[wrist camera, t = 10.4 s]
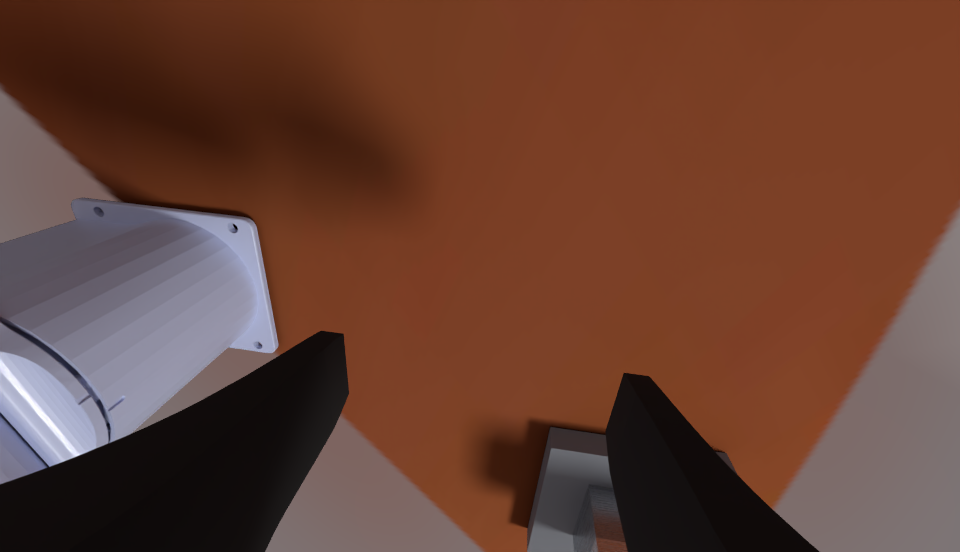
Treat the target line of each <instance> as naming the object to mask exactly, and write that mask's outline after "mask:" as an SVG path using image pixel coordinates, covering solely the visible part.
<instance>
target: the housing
mask: <svg viewBox="0 0 960 552" xmlns="http://www.w3.org/2000/svg"><path fill="white" fill-rule="evenodd" d="M573 545H574V552H628V551H627V547H626V543H625V538H624V534H623V530H622V525H621V521H620V516H619V512H618V508H617V503H616V499H615V494H614V490H613V488H610V487H604V486H597V485H591V484H589V485H588V488H587V491H586V494H585V498H584V501H583V504H582V507H581V510H580V514H579V517H578V520H577V523H576V526H575V530H574V533H573Z"/></svg>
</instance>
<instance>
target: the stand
mask: <svg viewBox="0 0 960 552" xmlns="http://www.w3.org/2000/svg"><path fill="white" fill-rule="evenodd" d="M716 453H717V454H718V455H719V456H720V457H721V459H722V460H723V461H724V462H725V463H726V464H727V465H728V466H729V467H730V468H731V469H732V470H733V471H734V472H735V473H736V471H735V469H734V467H733V465H732V463H731V461H730V459H729V457H728V455H727V453H721V452H716ZM736 474H737V473H736ZM589 484H591V485H597V486H604V487H610V488H613V485H612V481H611V476H610V471H609V462H608V454H607V443H606V435H601V434H595V433H588V432H581V431H575V430H568V429H561V428H555V427H550V430H549V435H548V439H547V444H546V448H545V453H544V457H543V462H542V466H541V471H540V475H539V480H538V484H537V489H536V493H535V498H534V502H533V507H532V511H531V516H530V520H529V525H528V531H527V552H574V545H573V533H574V530H575V526H576V523H577V520H578V517H579V514H580V510H581V507H582V504H583V501H584V498H585V494H586V491H587V488H588V485H589Z"/></svg>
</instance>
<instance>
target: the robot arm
mask: <svg viewBox="0 0 960 552" xmlns="http://www.w3.org/2000/svg"><path fill="white" fill-rule="evenodd" d="M71 207H72V210H73V213H74V215H75V218H76V220H74V221H70V222H68V223H64V224H61V225H58V226H55V227H51V228H48V229H46V230H42V231H39V232H36V233H33V234H29V235H26V236H23V237H20V238H16V239H13V240H10V241H7V242H4V243H0V552H265V550H266V548H267V546H268V544H269V542H270V540H271V537H272V536H273V534H274V532H275V530H276V528H277V526H278V524H279V522H280V520H281V519H282V517H283V515H284V513H285V511H286V510H287V508H288V506H289V505H290V503H291V501H292V499H293V498H294V496H295V494H296V492H297V491H298V489H299V488H300V486H301V484H302V483H303V481H304V479H305V477H306V476H307V474H308V472H309V470H310V469H311V467H312V466H313V464H314V462H315V461H316V459H317V457H318V455H319V453H320V452H321V450H322V448H323V447H324V445H325V443H326V441H327V439H328V438H329V436H330V435H331V433H332V431H333V429H334V427H335V425H336V423H337V420H338V418H339V416H340V414H341V411H342V409H343V407H344V404H345V402H346V399H347V397H348V395H349V388H348V377H347V367H346V356H345V345H344V334H341V333H334V332H326V331H320V332H318V333H316V334H314V335H313V336H311V337H309V338H307V339H306V340H304V341H302V342H301V343H299V344H298V345H296V346H294V347H293V348H291V349H289V350H288V351H286V352H285V353H283V354H281V355H280V356H278V357H276V358H275V359H273V360H271V361H270V362H268V363H266V364H265V365H263V366H262V367H260V368H258V369H256V370H255V371H253V372H251V373H250V374H248V375H246V376H245V377H243V378H241V379H239V380H238V381H236V382H234V383H232V384H230V385H228V386H227V387H225V388H223V389H221V390H219V391H218V392H216V393H214V394H212V395H211V396H208V397H207V398H205V399H203V400H201V401H199V402H197V403H196V404H194V405H192V406H190V407H188V408H186V409H184V410H182V411H180V412H178V413H176V414H174V415H171V416H169V417H167V418H165V419H163V420H161V421H159V422H156V423H154V424H152V425H150V426H148V427H146V428H144V429H141V430H139V431H137V432H135V433H132V432H133V431H134V430H135V429H137V427H139V426H140V425H141V424H142V423H143V422H144V421H146V420H147V419H148V418H149V417H150V416H151V415H152V414H153V413H155V412H156V411H157V410H158V409H159V408H160V407H161V406H162V405H164V404H165V403H166V402H167V401H168V400H169V399H170V398H171V397H173V395H175V394H176V393H177V392H178V391H179V390H180V389H181V388H183V387H184V386H185V385H186V384H187V383H188V382H189V381H190V380H191V379H193V378H194V377H195V376H196V375H197V374H198V373H199V372H201V371H202V370H203V369H204V368H205V367H206V366H207V365H208V364H210V363H211V362H212V361H213V360H214V359H215V358H216V357H217V356H219V354H221V353H222V352H223V351H224V350H225V349H226V348H228V347H230V348H237V349H244V350H251V351H257V352H265V353H272V352H274V351H275V350H276V349H277V348H278V339H277V334H276V329H275V323H274V318H273V312H272V307H271V302H270V296H269V291H268V286H267V280H266V275H265V269H264V264H263V259H262V253H261V248H260V243H259V237H258V232H257V227H256V225H255V223H254V222H253V221H252V220H251V219H249V218H246V217H240V216H231V215H223V214H215V213H206V212H198V211H190V210H181V209H173V208H165V207H156V206H148V205H140V204H131V203H123V202H115V201H106V200H98V199H89V198H79V199H75V200H73V201H72V203H71ZM102 210H103V211H102ZM233 224H235V225H236V226H237V228H238V230H236V229H235V228H234V226H233ZM259 342H260V343H261V344H260V343H259ZM131 433H132V434H131ZM606 443H607V454H608V462H609V471H610V476H611V481H612V485H613V490H614V494H615V499H616V503H617V508H618V512H619V516H620V521H621V525H622V530H623V534H624V538H625V543H626V547H627V551H628V552H819V551H818V550H817V549H816V548H814V547H813V546H812V545H811V544H810V543H809V542H808V541H807V540H805V539H804V538H803V537H802V536H801V535H800V534H799V533H798V532H797V531H795V530H794V529H793V528H792V527H791V526H790V525H789V524H788V523H786V522H785V520H783V519H782V518H781V517H780V516H779V515H778V514H777V513H776V512H775V511H774V510H772V509H771V508H770V507H769V506H768V505H767V504H766V503H765V502H764V501H763V500H762V499H761V498H760V497H759V496H758V495H757V494H756V493H755V492H754V491H753V490H752V489H751V488H750V487H749V486H748V485H747V484H746V483H745V482H744V481H743V480H742V479H741V478H740V477H739V476H738V475H737V474H736V473H735V472H734V471H733V470H732V469H731V468H730V467H729V466H728V465H727V464H726V463H725V462H724V461H723V460H722V459H721V457H720V456H719V455H718V454H717V453H716V452H715V451H714V450H713V449H712V448H711V447H710V446H709V445H708V443H707V442H706V441H705V440H704V439H703V438H702V437H701V436H700V434H699V433H698V432H697V431H696V430H695V429H694V428H693V427H692V425H691V424H690V423H689V422H688V421H687V420H686V419H685V417H684V416H683V415H682V414H681V413H680V412H679V410H678V409H677V408H676V407H675V406H674V405H673V403H672V402H671V401H670V400H669V399H668V398H667V396H666V395H665V394H664V393H663V392H662V390H661V389H660V388H659V387H658V386H657V385H656V384H655V382H654V381H653V380H652V379H651V378H650V377H649V376H643V375H636V374H629V373H624V374H623V377H622V381H621V384H620V387H619V390H618V393H617V397H616V400H615V403H614V406H613V409H612V412H611V416H610V419H609V422H608V425H607V428H606Z"/></svg>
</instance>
